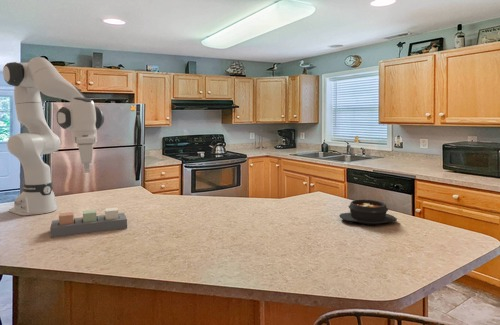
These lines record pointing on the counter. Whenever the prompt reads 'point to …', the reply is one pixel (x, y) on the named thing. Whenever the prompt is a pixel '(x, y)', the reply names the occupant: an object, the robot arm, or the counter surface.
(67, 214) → the terracotta block
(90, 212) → the sage green block
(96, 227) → the console
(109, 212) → the cream block
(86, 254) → the counter surface
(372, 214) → the casserole
